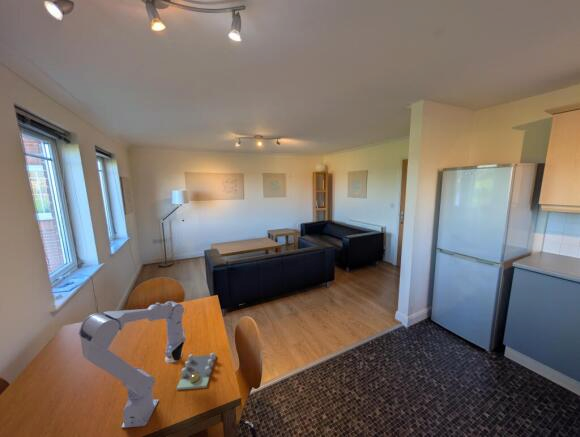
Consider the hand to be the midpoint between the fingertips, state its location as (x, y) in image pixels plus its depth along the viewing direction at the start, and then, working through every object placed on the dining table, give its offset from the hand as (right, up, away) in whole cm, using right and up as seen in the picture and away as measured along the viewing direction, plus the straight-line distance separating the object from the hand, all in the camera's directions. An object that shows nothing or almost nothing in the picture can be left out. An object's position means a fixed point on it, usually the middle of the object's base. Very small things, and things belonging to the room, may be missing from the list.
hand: (177, 359), depth 94 cm
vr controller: (-9, -8, +14) cm, 19 cm away
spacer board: (+7, -9, +5) cm, 13 cm away
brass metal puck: (+7, -9, 0) cm, 11 cm away
